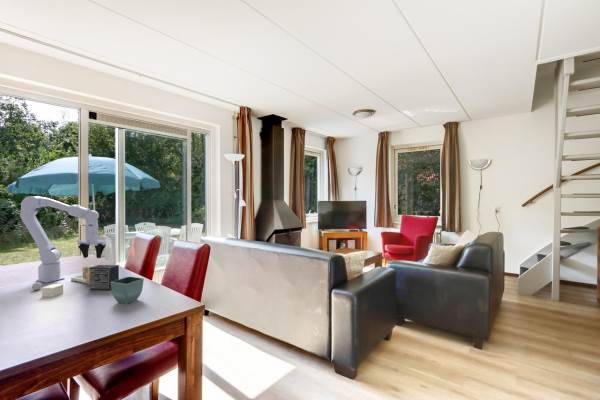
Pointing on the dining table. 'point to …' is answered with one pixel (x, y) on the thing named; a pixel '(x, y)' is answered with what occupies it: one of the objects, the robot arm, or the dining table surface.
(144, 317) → the dining table surface
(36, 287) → the grey ball
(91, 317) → the dining table surface
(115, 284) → the flower pot
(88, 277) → the peach rounded cylinder
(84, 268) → the maple block
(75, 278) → the tray
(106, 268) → the small box
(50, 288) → the cream block
